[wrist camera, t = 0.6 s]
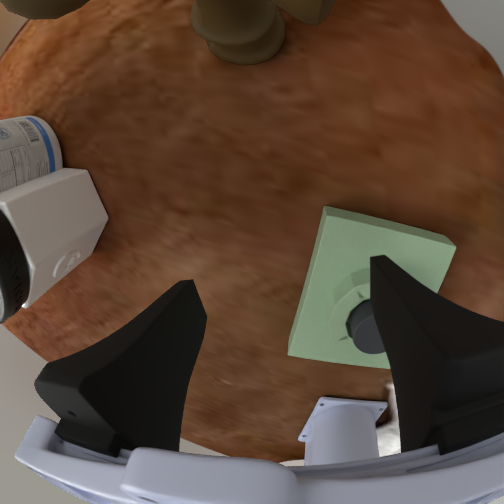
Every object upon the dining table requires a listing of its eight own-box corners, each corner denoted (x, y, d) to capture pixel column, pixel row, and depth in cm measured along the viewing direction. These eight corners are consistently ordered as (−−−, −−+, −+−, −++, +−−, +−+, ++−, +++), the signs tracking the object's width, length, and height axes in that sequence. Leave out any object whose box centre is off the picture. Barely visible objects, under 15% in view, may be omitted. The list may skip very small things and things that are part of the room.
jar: (87, 270, 26) (5, 347, 15) (34, 220, 25) (-53, 274, 14) (122, 198, 22) (12, 267, 11) (60, 144, 21) (-54, 180, 10)
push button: (387, 341, 20) (392, 357, 18) (343, 334, 20) (345, 351, 19) (406, 301, 18) (413, 316, 17) (359, 293, 19) (364, 308, 17)
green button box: (391, 353, 25) (400, 384, 21) (288, 338, 26) (286, 371, 22) (445, 235, 20) (468, 257, 16) (324, 205, 20) (329, 224, 17)
